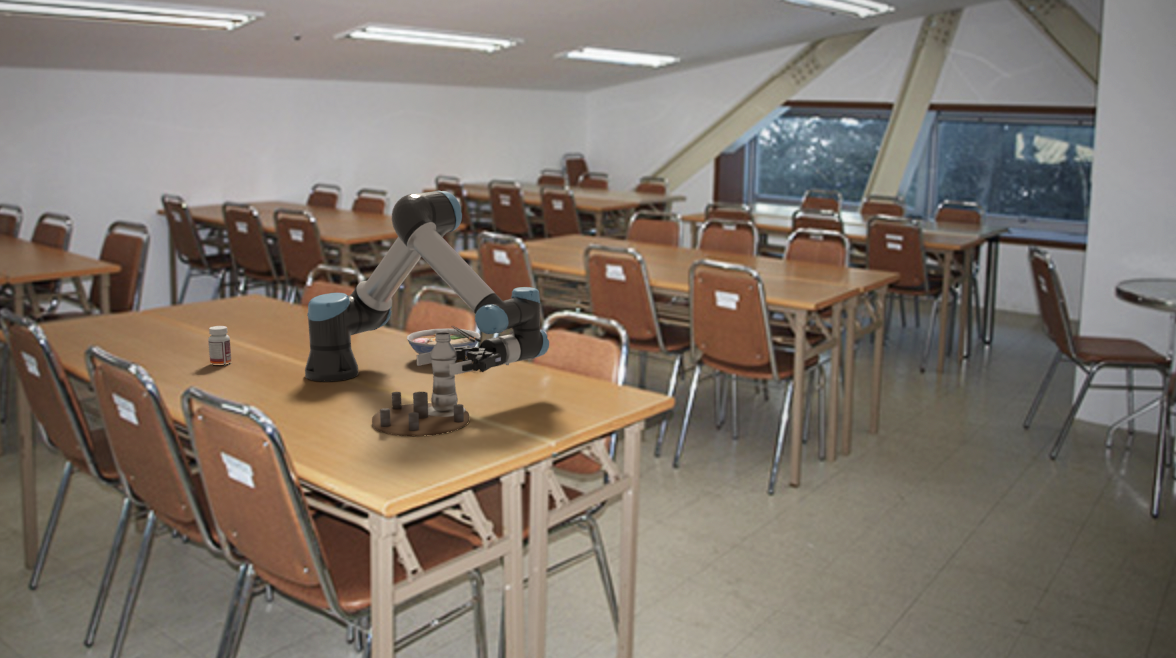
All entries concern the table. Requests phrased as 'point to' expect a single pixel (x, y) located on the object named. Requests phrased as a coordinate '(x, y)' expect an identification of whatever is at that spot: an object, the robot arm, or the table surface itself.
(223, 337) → the pill bottle
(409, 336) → the ramen bowl
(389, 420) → the board
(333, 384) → the table surface
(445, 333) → the plastic bottle
